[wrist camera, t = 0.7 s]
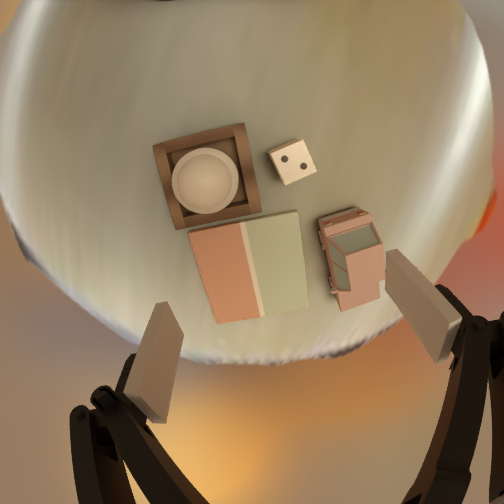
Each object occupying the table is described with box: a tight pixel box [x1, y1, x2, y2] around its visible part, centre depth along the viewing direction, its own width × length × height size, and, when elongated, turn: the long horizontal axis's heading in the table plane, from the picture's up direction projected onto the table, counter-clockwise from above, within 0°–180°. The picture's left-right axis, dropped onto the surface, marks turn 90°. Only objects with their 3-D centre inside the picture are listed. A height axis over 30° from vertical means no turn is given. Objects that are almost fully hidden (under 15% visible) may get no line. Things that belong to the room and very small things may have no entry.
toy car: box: [318, 207, 386, 312], centre depth 38 cm, size 9×15×10 cm, turn 19°
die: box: [267, 139, 317, 186], centre depth 34 cm, size 4×4×5 cm
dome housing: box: [153, 123, 262, 230], centre depth 35 cm, size 12×12×3 cm
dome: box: [172, 147, 239, 214], centre depth 31 cm, size 8×8×7 cm
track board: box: [188, 210, 309, 324], centre depth 42 cm, size 17×16×1 cm
